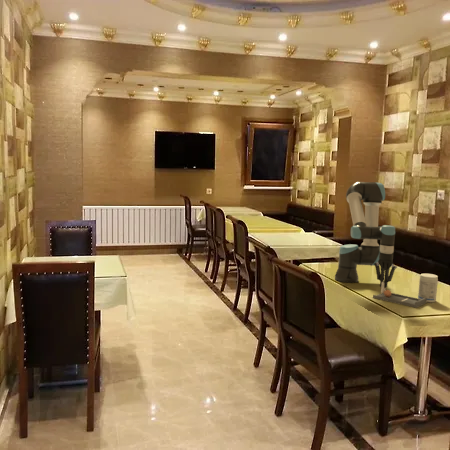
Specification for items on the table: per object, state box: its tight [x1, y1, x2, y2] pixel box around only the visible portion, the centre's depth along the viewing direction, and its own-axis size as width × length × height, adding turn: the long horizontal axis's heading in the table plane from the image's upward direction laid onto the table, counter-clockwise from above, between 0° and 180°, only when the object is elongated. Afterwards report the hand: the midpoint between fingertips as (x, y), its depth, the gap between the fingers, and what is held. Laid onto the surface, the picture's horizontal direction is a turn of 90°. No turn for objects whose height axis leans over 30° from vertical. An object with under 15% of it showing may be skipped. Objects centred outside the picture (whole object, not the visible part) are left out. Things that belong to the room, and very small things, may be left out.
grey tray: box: [372, 292, 427, 309], centre depth 270 cm, size 25×14×3 cm, turn 46°
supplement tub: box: [417, 273, 439, 303], centre depth 271 cm, size 10×10×15 cm
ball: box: [384, 289, 392, 297], centre depth 274 cm, size 4×4×4 cm
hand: (383, 292), depth 276 cm, fingers closed
